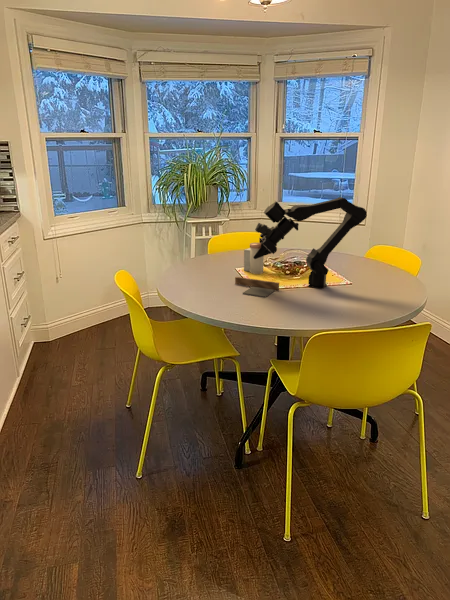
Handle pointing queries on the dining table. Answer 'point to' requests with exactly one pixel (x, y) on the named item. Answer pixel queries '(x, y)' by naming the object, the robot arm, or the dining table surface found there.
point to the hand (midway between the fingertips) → (253, 256)
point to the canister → (255, 264)
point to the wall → (257, 283)
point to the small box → (247, 259)
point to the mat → (258, 291)
